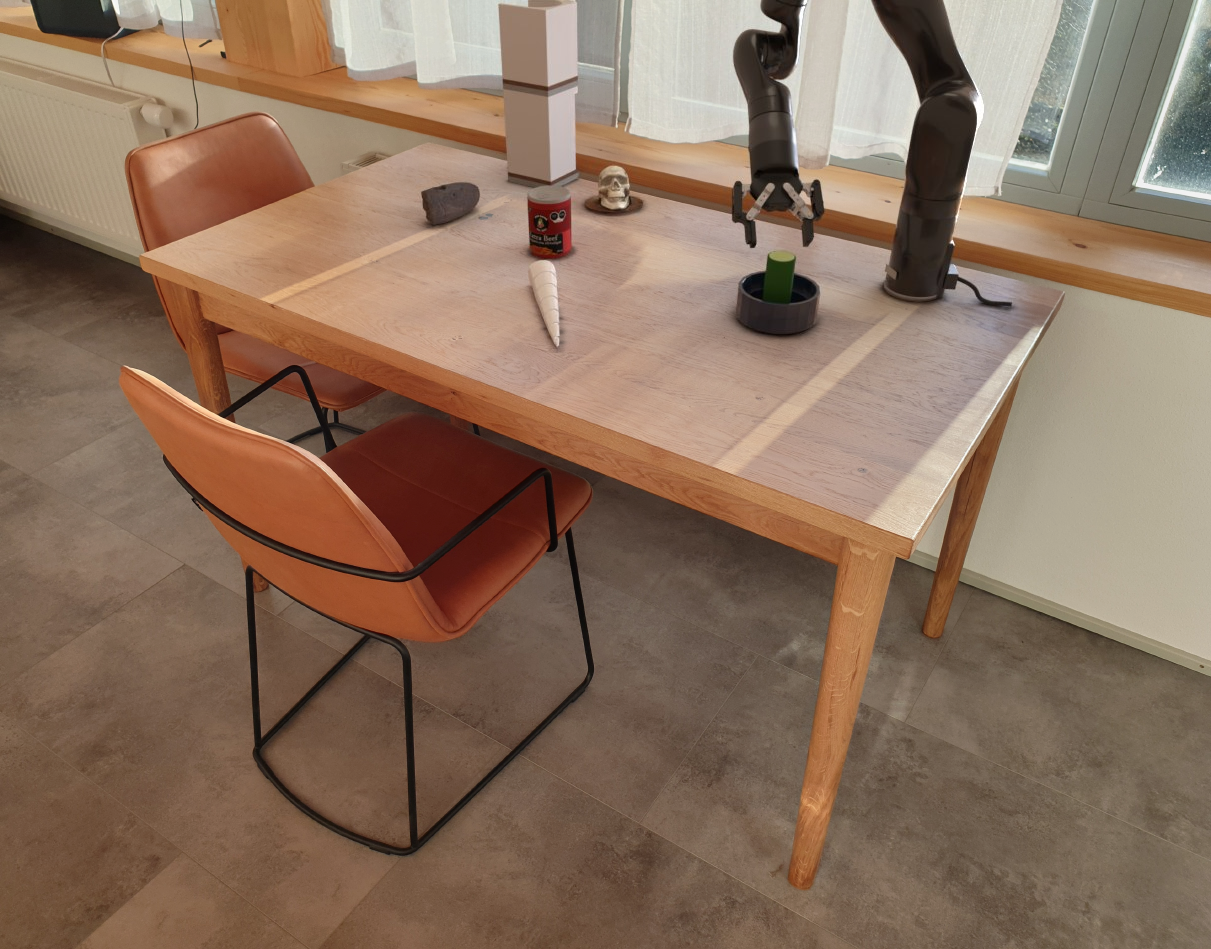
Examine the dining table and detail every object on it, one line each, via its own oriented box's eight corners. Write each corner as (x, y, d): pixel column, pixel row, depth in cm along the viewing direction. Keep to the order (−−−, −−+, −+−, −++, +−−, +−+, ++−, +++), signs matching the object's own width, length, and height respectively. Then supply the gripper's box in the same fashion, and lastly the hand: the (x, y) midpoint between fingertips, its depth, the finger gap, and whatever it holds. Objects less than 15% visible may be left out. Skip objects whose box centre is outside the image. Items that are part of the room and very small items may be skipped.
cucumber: (787, 309, 153) (795, 251, 147) (788, 321, 149) (796, 262, 143) (760, 308, 153) (767, 249, 147) (761, 320, 149) (767, 261, 143)
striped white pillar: (578, 177, 206) (576, 1, 185) (551, 191, 199) (545, 10, 178) (536, 168, 211) (530, -4, 190) (508, 181, 204) (498, 4, 183)
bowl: (813, 303, 156) (817, 272, 153) (818, 339, 146) (823, 307, 142) (735, 299, 157) (738, 268, 154) (735, 334, 147) (738, 302, 143)
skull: (650, 210, 187) (615, 173, 182) (611, 243, 191) (577, 207, 186) (647, 187, 196) (614, 151, 191) (610, 219, 200) (577, 185, 196)
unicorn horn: (532, 350, 142) (531, 322, 139) (528, 285, 161) (527, 258, 158) (564, 349, 142) (563, 321, 140) (556, 284, 162) (555, 257, 159)
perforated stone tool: (472, 204, 192) (469, 171, 188) (489, 210, 189) (487, 176, 185) (415, 225, 183) (411, 190, 179) (432, 232, 180) (429, 196, 176)
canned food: (522, 255, 171) (519, 196, 165) (541, 240, 177) (539, 182, 171) (560, 262, 169) (559, 202, 162) (578, 246, 175) (577, 188, 168)
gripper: (732, 138, 145) (739, 237, 143) (823, 136, 146) (831, 235, 143) (724, 161, 153) (731, 256, 150) (810, 160, 153) (818, 254, 151)
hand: (780, 245), depth 147 cm, fingers open, 8 cm apart
